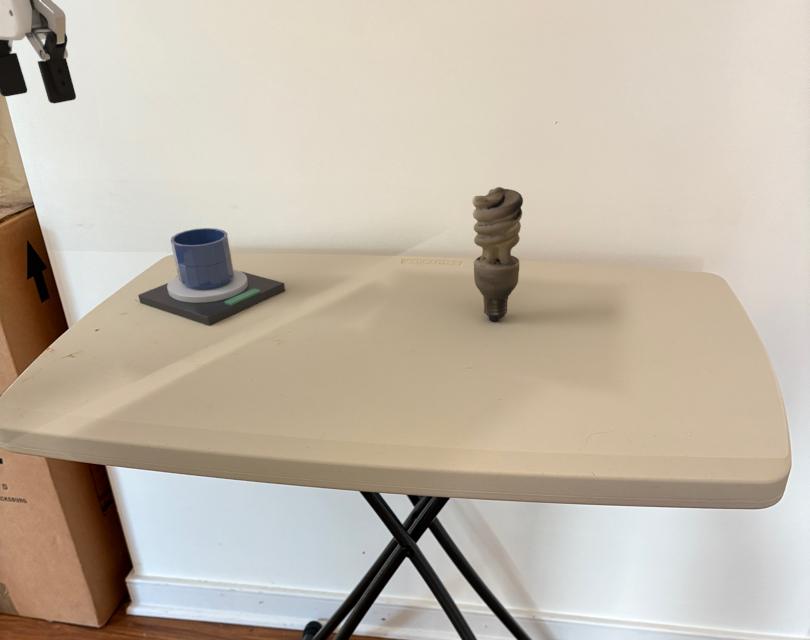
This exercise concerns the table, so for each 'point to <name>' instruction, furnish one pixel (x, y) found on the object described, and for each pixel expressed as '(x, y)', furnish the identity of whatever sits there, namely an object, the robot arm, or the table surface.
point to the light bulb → (497, 248)
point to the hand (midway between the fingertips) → (38, 97)
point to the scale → (212, 297)
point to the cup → (203, 258)
